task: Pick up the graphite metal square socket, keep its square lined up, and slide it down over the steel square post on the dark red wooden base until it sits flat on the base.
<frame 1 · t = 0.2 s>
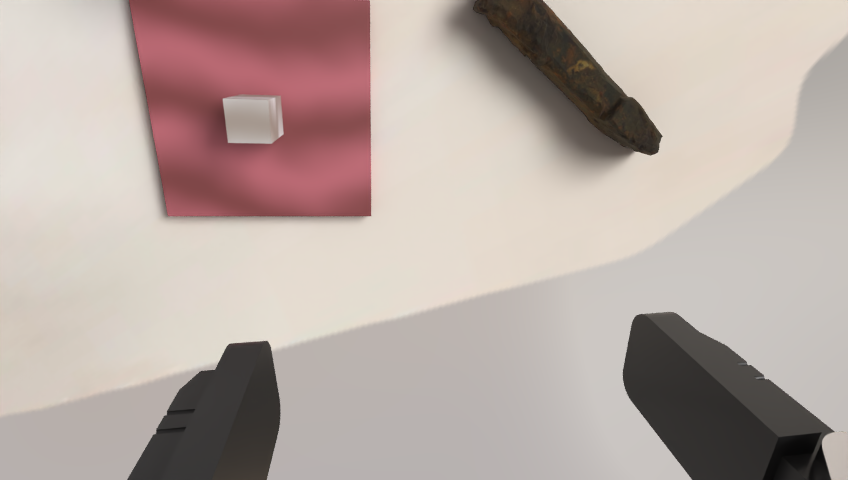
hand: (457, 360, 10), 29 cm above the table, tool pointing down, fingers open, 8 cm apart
post base: (265, 113, 34), on the table
hand tool: (569, 68, 36), on the table
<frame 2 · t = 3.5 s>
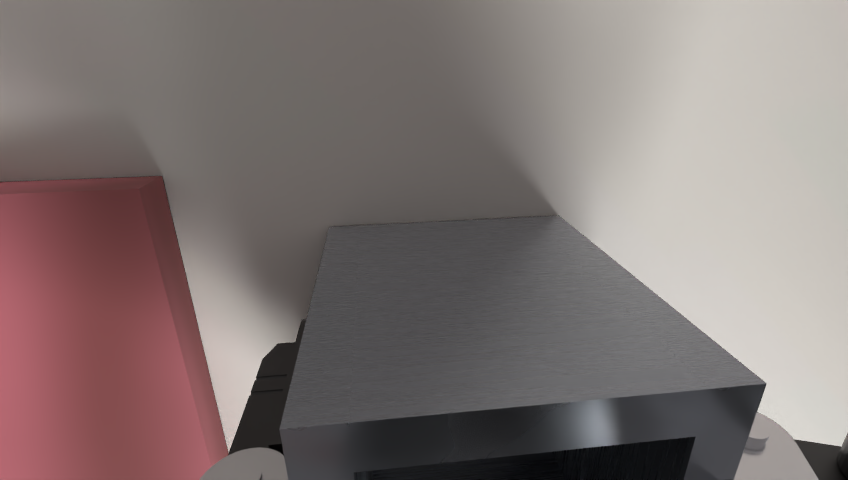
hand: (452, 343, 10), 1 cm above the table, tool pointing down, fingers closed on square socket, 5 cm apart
square socket: (446, 320, 11), on the table, touching gripper
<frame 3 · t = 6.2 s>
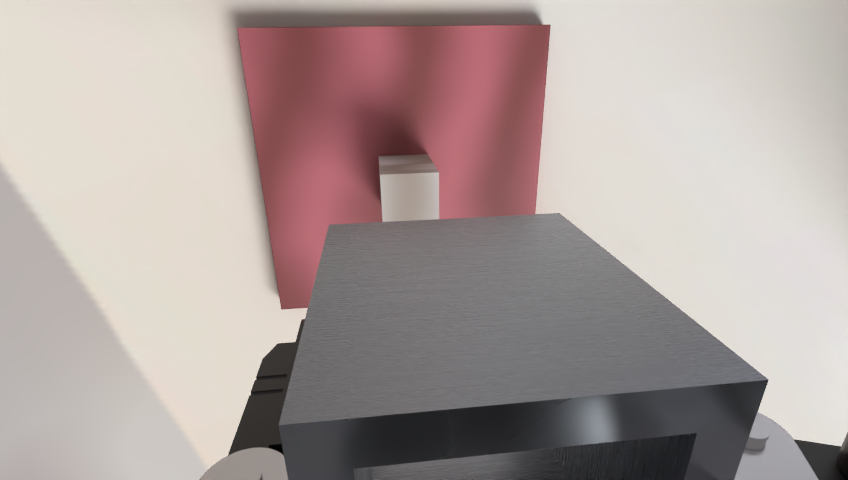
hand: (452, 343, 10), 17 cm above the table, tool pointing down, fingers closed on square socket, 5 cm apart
post base: (403, 175, 27), on the table
square socket: (446, 319, 11), point 16 cm above the table, touching gripper
when the fingers open (4 cm above the table, at t = 9.3 s): square socket drops 2 cm, resting on post base.
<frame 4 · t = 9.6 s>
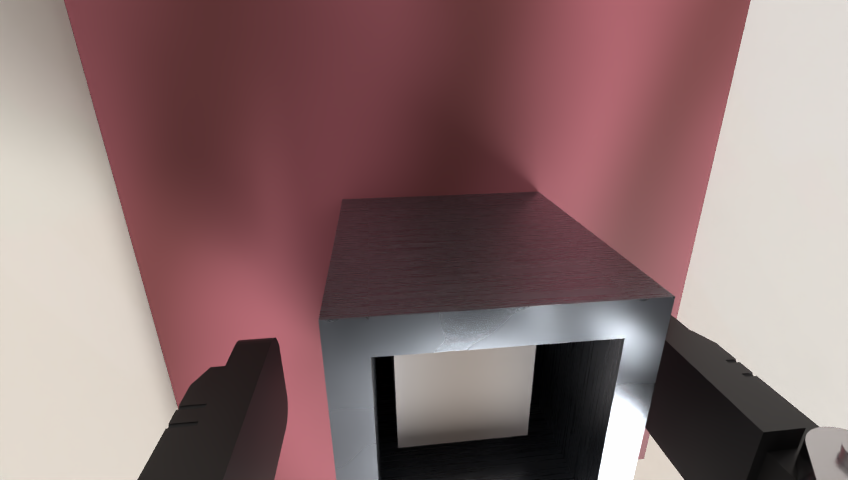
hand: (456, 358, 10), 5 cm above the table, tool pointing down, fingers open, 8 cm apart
post base: (430, 270, 14), on the table
square socket: (441, 283, 13), point 1 cm above the table, touching post base
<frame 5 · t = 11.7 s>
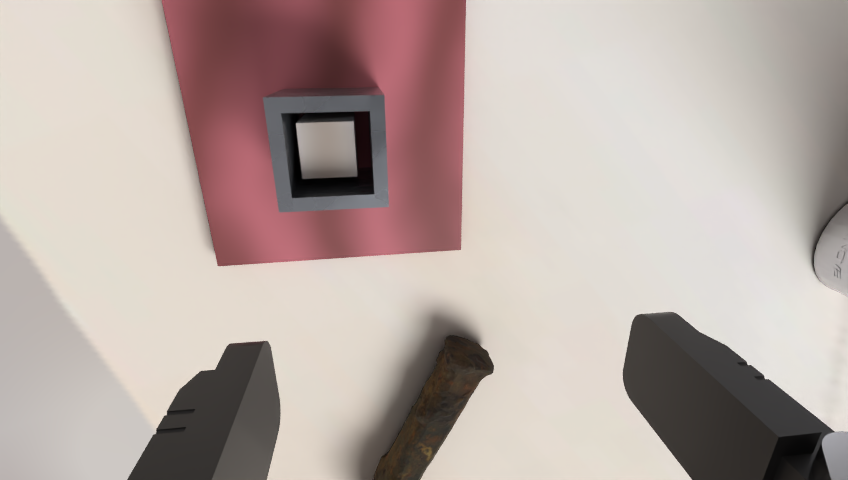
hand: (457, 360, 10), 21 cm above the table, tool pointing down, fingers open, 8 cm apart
post base: (333, 133, 27), on the table
hand tool: (420, 422, 38), on the table
square socket: (335, 135, 27), point 1 cm above the table, touching post base
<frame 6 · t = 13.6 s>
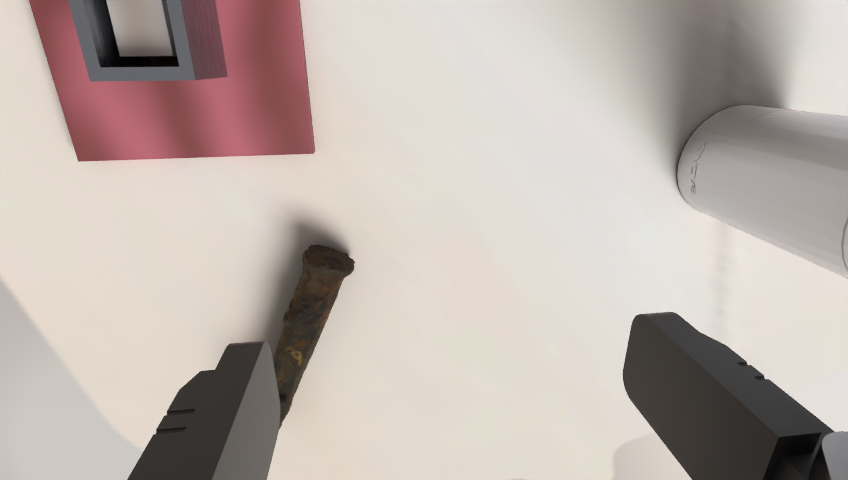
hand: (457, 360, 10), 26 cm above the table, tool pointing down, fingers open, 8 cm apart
post base: (179, 34, 29), on the table
hand tool: (303, 337, 40), on the table
square socket: (177, 32, 29), point 1 cm above the table, touching post base
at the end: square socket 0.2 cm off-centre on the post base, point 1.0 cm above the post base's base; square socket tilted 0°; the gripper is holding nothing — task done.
